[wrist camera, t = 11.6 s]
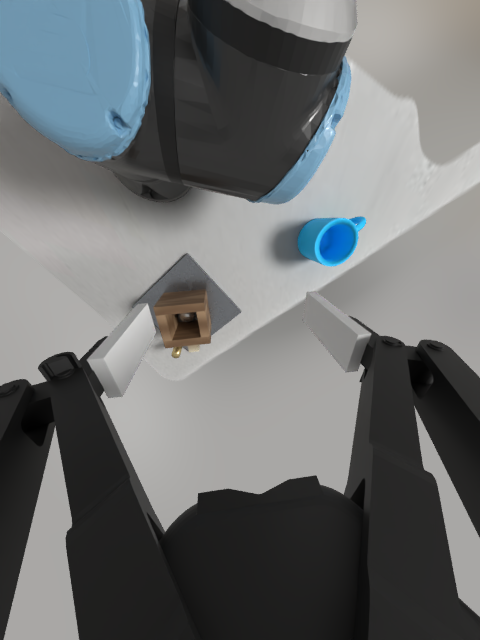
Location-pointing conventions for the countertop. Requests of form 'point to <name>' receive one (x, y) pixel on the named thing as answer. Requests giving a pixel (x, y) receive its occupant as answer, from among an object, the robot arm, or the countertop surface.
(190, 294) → the wooden square tube
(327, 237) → the mug
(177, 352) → the dowel pin
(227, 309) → the flange base
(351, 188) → the countertop surface
